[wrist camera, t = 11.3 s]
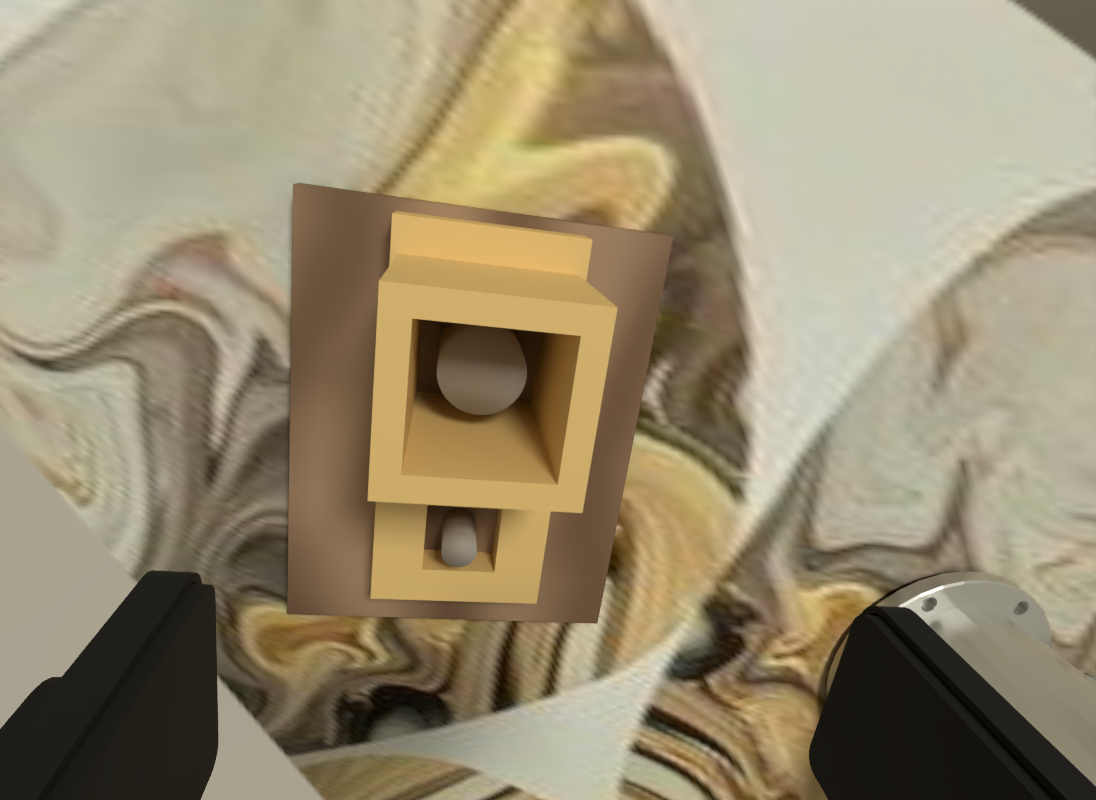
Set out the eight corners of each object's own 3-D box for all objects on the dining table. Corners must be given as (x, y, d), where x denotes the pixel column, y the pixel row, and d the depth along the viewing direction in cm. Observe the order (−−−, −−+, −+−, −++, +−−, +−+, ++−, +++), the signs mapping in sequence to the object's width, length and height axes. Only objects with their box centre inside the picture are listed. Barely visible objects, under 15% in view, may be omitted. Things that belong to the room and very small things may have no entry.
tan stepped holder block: (396, 211, 23) (369, 227, 16) (584, 235, 24) (636, 261, 17) (374, 577, 28) (346, 712, 21) (532, 582, 29) (556, 712, 22)
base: (664, 234, 26) (712, 248, 21) (592, 607, 32) (616, 686, 27) (301, 183, 23) (259, 186, 19) (293, 597, 29) (260, 682, 24)
